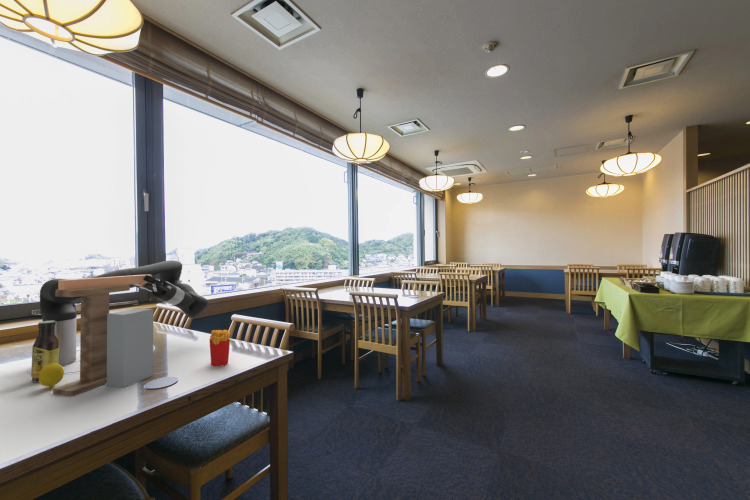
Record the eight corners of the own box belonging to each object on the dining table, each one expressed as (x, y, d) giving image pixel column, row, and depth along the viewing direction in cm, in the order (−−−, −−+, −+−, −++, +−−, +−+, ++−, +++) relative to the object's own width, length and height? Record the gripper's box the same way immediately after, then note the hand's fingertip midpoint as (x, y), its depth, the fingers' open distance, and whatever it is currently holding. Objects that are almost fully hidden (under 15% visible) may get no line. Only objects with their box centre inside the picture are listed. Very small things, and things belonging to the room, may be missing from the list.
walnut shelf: (53, 393, 92) (54, 289, 92) (112, 372, 108) (113, 284, 109) (72, 396, 90) (73, 290, 90) (130, 374, 107) (130, 284, 107)
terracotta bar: (58, 289, 92) (58, 280, 92) (146, 282, 117) (146, 274, 117) (64, 290, 91) (64, 280, 91) (151, 282, 116) (151, 274, 116)
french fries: (206, 363, 116) (206, 330, 117) (216, 360, 120) (216, 328, 121) (224, 367, 113) (224, 333, 113) (233, 363, 117) (233, 330, 117)
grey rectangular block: (106, 385, 97) (107, 313, 98) (137, 373, 107) (137, 308, 107) (123, 387, 96) (123, 314, 96) (152, 375, 106) (153, 309, 106)
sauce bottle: (27, 381, 101) (28, 322, 101) (52, 374, 106) (53, 318, 107) (37, 384, 98) (37, 324, 98) (62, 377, 104) (63, 320, 104)
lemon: (47, 392, 93) (47, 366, 93) (33, 390, 94) (34, 365, 94) (68, 384, 98) (68, 360, 98) (55, 383, 99) (55, 358, 100)
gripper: (179, 302, 123) (146, 286, 109) (151, 301, 126) (116, 285, 112) (186, 285, 127) (155, 268, 113) (159, 285, 130) (126, 267, 116)
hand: (136, 276), depth 113 cm, fingers open, 8 cm apart
